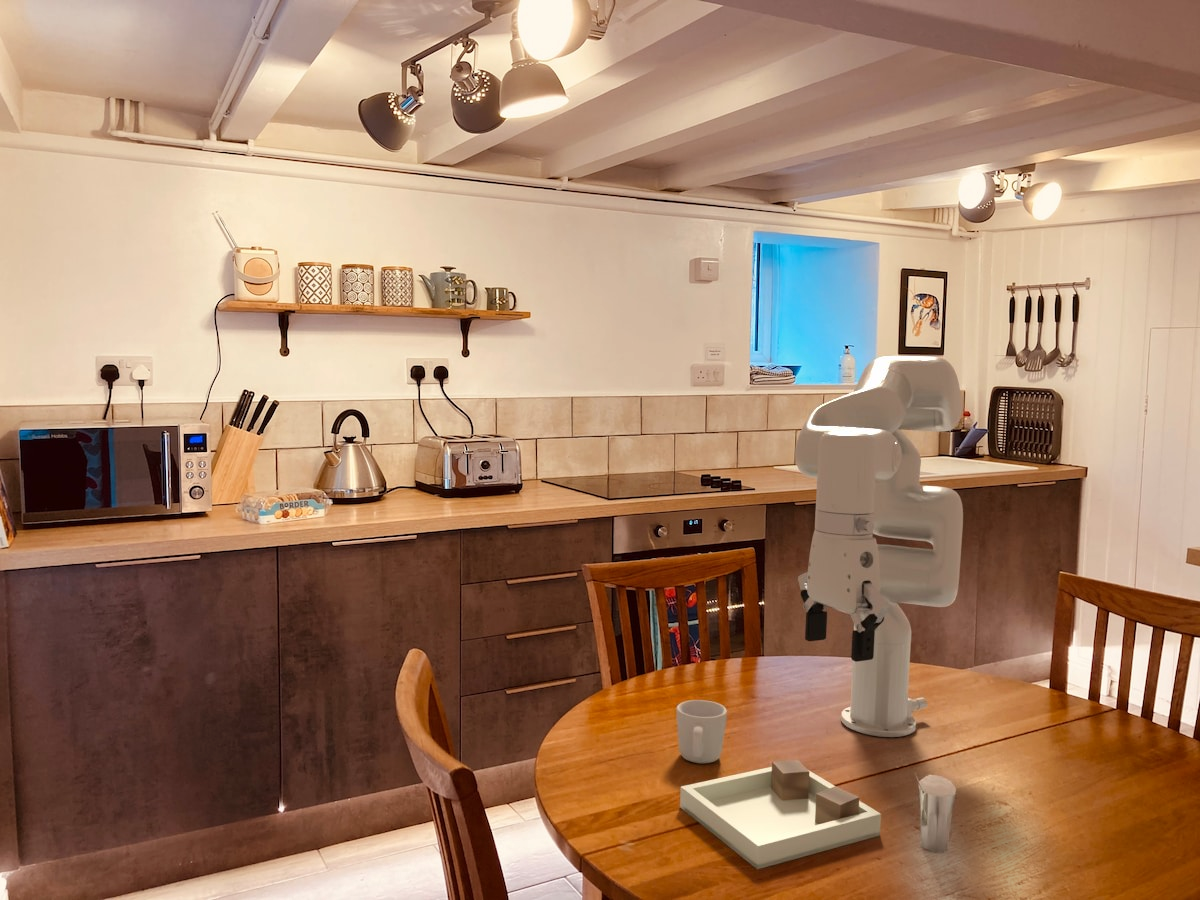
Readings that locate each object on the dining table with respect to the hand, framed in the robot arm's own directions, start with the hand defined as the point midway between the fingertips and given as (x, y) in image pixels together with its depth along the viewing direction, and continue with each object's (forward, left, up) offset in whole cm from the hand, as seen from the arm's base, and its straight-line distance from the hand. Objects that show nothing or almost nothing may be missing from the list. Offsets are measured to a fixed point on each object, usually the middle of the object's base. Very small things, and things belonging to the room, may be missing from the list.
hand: (838, 649), depth 127 cm
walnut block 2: (+1, +2, -23) cm, 23 cm away
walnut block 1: (+1, -8, -23) cm, 25 cm away
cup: (+6, -24, -24) cm, 34 cm away
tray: (+7, -3, -24) cm, 25 cm away
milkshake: (-7, +11, -24) cm, 27 cm away
